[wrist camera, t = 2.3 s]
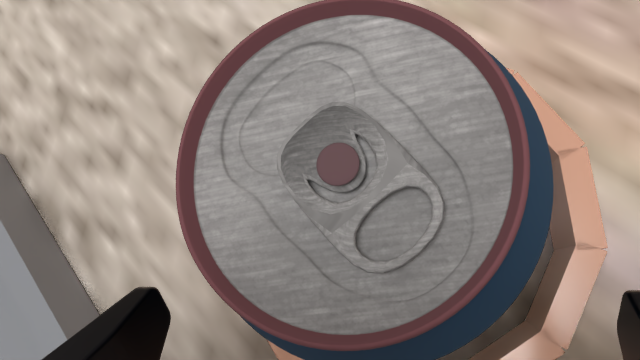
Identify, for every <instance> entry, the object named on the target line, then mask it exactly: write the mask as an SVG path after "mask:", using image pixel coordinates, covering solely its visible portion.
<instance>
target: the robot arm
mask: <svg viewBox="0 0 640 360" xmlns="http://www.w3.org/2000/svg"><path fill="white" fill-rule="evenodd" d="M170 320H171V316H170V311H169V309H168V307H167V305H166V303H165V301H164V300H163V298H162V296H161V294H160V292H159V290H158V289H157V288H155V287H138V288H135V289H134V290H133V291H131V292H130V293H129V294H127V295H126V296H125V297H123V298H122V299H121V300H119V301H118V302H117V303H115V304H114V305H113V306H111V307H110V308H109V309H107V310H106V311H105V312H103V313H102V314H101V315H100V316H98V317H97V318H96V319H94V320H93V321H92V322H90V323H89V324H88V325H86V326H85V327H84V328H82V329H81V330H80V331H78V332H77V333H76V334H74V335H73V336H72V337H71V338H69V339H68V340H67V341H65V342H64V343H63V344H61V345H60V346H59V347H57V348H56V349H55V350H53V351H52V352H51V353H49V354H48V355H47V356H45V357H44V358H43V359H41V360H160V357H161V353H162V350H163V346H164V343H165V339H166V336H167V332H168V329H169V325H170ZM617 333H618V338H619V342H620V347H621V351H622V355H623V360H640V290H629V291H626V292H625V293H624V294H623V297H622V301H621V306H620V311H619V316H618V320H617Z"/></svg>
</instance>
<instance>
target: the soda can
mask: <svg viewBox="0 0 640 360" xmlns="http://www.w3.org/2000/svg"><path fill="white" fill-rule="evenodd" d="M553 188H554V185H553V169H552V162H551V155H550V151H549V147H548V143H547V139H546V136H545V133H544V130H543V127H542V124H541V122H540V120H539V117H538V115H537V113H536V111H535V109H534V107H533V105H532V103H531V101H530V99H529V98H528V96H527V95H526V93H525V92H524V90H523V89H522V87H521V86H520V84H519V83H518V82H517V81H516V79H515V78H514V77H513V75H512V74H511V73H510V72H509V71H508V70H507V69H506V68H505V67H504V66H503V65H502V64H501V63H500V62H499V61H498V60H497V59H496V58H495V57H494V56H493V55H491V54H490V53H489V52H487V51H486V50H485V49H484V48H483V47H482V46H481V45H480V44H479V43H478V42H477V41H476V40H475V39H473V38H472V37H471V36H470V35H469V34H467V33H466V32H465V31H464V30H462V29H461V28H460V27H458V26H457V25H455V24H454V23H452V22H450V21H449V20H447V19H445V18H443V17H442V16H440V15H438V14H436V13H434V12H431V11H429V10H427V9H425V8H422V7H419V6H416V5H413V4H410V3H406V2H402V1H398V0H324V1H319V2H315V3H312V4H308V5H305V6H302V7H299V8H297V9H294V10H292V11H289V12H287V13H285V14H283V15H281V16H279V17H277V18H275V19H273V20H271V21H270V22H268V23H266V24H265V25H263V26H261V27H260V28H258V29H257V30H256V31H254V32H253V33H251V34H250V35H249V36H248V37H246V38H245V39H244V40H243V41H241V42H240V43H239V44H238V45H237V46H236V47H235V48H234V49H233V50H232V51H231V52H230V53H229V54H228V55H227V56H226V57H225V58H224V59H223V60H222V61H221V63H220V64H219V65H218V66H217V67H216V69H215V70H214V71H213V73H212V74H211V75H210V77H209V78H208V80H207V81H206V83H205V84H204V86H203V88H202V89H201V91H200V93H199V95H198V97H197V98H196V100H195V102H194V105H193V107H192V109H191V111H190V114H189V116H188V119H187V122H186V124H185V128H184V131H183V134H182V138H181V143H180V147H179V153H178V159H177V169H176V200H177V208H178V215H179V220H180V225H181V229H182V232H183V236H184V239H185V241H186V244H187V246H188V249H189V251H190V253H191V255H192V257H193V259H194V261H195V263H196V265H197V266H198V268H199V270H200V271H201V273H202V274H203V276H204V277H205V279H206V280H207V282H208V283H209V284H210V286H211V287H212V288H213V289H214V290H215V292H216V293H217V294H218V295H219V296H220V297H221V298H222V299H223V300H224V301H225V303H227V304H228V305H229V306H230V307H231V308H232V309H233V310H234V311H235V312H237V313H238V314H239V315H240V316H241V317H242V318H243V319H244V320H245V321H246V322H247V323H248V324H249V325H250V326H251V327H252V328H253V329H254V330H255V331H257V332H258V333H259V334H260V335H262V336H263V337H264V338H266V339H267V340H268V341H270V342H271V343H273V344H275V345H276V346H278V347H279V348H281V349H283V350H285V351H287V352H288V353H290V354H292V355H295V356H297V357H299V358H301V359H304V360H436V359H438V358H440V357H443V356H445V355H447V354H449V353H451V352H453V351H455V350H457V349H459V348H460V347H462V346H464V345H466V344H467V343H469V342H470V341H472V340H473V339H475V338H476V337H478V336H479V335H480V334H481V333H483V332H484V331H485V330H486V329H488V328H489V327H490V326H491V325H492V324H493V323H494V322H495V321H496V320H497V319H499V318H500V317H501V316H502V315H503V314H504V312H505V311H506V310H507V309H508V308H509V307H510V306H511V304H512V303H513V302H514V301H515V299H516V298H517V297H518V295H519V294H520V292H521V291H522V290H523V288H524V286H525V285H526V283H527V282H528V280H529V278H530V277H531V275H532V273H533V271H534V269H535V267H536V265H537V263H538V260H539V258H540V255H541V253H542V250H543V248H544V244H545V241H546V238H547V234H548V230H549V226H550V221H551V215H552V207H553Z"/></svg>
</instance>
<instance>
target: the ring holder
mask: <svg viewBox="0 0 640 360" xmlns="http://www.w3.org/2000/svg"><path fill="white" fill-rule="evenodd" d="M506 69H507V70H508V71H509V72H510V73H511V74H512V75H513V74H514V70H511V69H508V68H506ZM513 77H514V78H515V79H516V81H517V82H518V83H519V84H520V86H521V87H522V89H523V90H524V92H525V93H526V95H527V96H528V98H529V99H530V101H531V103H532V105H533V107H534V109H535V111H536V113H537V115H538V117H539V120H540V122H541V124H542V127H543V130H544V133H545V136H546V139H547V143H548V147H549V151H550V155H551V162H552V169H553V185H554V188H553V207H552V215H551V221H550V226H549V227H550V232H551V238H552V243H553V249H554V252H553V254H552V257H551V259H550V261H549V264H548V266H547V269H546V271H545V273H544V276H543V278H542V281H541V283H540V286H539V288H538V290H537V293H536V295H535V298H534V300H533V303H532V305H531V307H530V310H529V312H528V315H527V317H526V320H525V321H524V322H522V323H521V324H519V325H518V326H517V327H515V328H514V329H512V330H511V331H509V332H508V333H506V334H505V335H503V336H502V337H501V338H499V339H498V340H496V341H495V342H493V343H492V344H490V345H489V346H487V347H486V348H485V349H483V350H482V351H480V352H479V353H477V354H476V355H474V356H473V357H472V358H470V359H469V360H555V359H557V358H558V357H560V356H561V355H563V354H564V353H565V352H564V351H563V349H562V348H564V349H567V350H568V347H569V345H570V342H571V340H572V338H573V335H574V333H575V330H576V328H577V325H578V323H579V320H580V318H581V315H582V313H583V310H584V308H585V305H586V303H587V300H588V298H589V296H590V293H591V291H592V288H593V286H594V283H595V281H596V278H597V276H598V273H599V271H600V268H601V266H602V263H603V261H604V259H605V256H606V254H607V251H605V250H602V249H604V248H608V247H607V242H606V237H605V233H604V228H603V223H602V218H601V213H600V208H599V203H598V199H597V194H596V189H595V184H594V179H593V174H592V169H591V164H590V160H589V155H588V150H587V147H582V146H583V145H584V144H585V143H584V142H583V141H582V140H581V139H580V138H579V137H578V136H577V134H576V133H575V132H574V131H573V130H572V129H571V128H570V127H569V126H568V125H567V124H566V123H565V122H564V121H563V120H562V119H561V118H560V117H559V115H558V114H557V113H556V112H555V111H554V110H553V109H552V108H551V107H550V106H549V105H548V104H547V103H546V102H545V101H544V100H543V99H542V98H541V97H540V95H539V94H538V93H537V92H536V91H535V90H534V89H533V88H532V87H531V86H530V85H529V84H528V83H527V82H526V81H525V80H524V79H523V78H522V77H521V75H520V74H519V73H518V72H517V73H515V74H514V75H513ZM266 340H267V339H266ZM267 341H268V340H267ZM268 343H269V345H270V346H271V348H272V350H273V351H274V353H275V355H276V356H277V358H278V360H304V359H301V358H299V357H297V356H295V355H292V354H290V353H288V352H287V351H285V350H283V349H281V348H279V347H278V346H276V345H275V344H273V343H271V342H270V341H268ZM561 347H562V348H561Z"/></svg>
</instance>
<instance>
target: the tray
mask: <svg viewBox="0 0 640 360" xmlns="http://www.w3.org/2000/svg"><path fill="white" fill-rule="evenodd" d="M98 316H100V315H99V313H98V312H97V310H96V308H95V307H94V305H93V303H92V302H91V300H90V298H89V297H88V295H87V293H86V292H85V290H84V288H83V287H82V285H81V283H80V281H79V280H78V278H77V276H76V275H75V273H74V271H73V270H72V268H71V266H70V265H69V263H68V261H67V260H66V258H65V256H64V255H63V253H62V251H61V250H60V248H59V246H58V245H57V243H56V241H55V240H54V238H53V236H52V235H51V233H50V231H49V230H48V228H47V226H46V225H45V223H44V221H43V220H42V218H41V216H40V215H39V213H38V211H37V209H36V208H35V206H34V204H33V203H32V201H31V199H30V198H29V196H28V194H27V193H26V191H25V189H24V188H23V186H22V184H21V183H20V181H19V179H18V178H17V176H16V174H15V173H14V171H13V169H12V168H11V166H10V164H9V163H8V161H7V159H6V158H5V156H4V155H2V154H0V360H41V359H43V358H44V357H45V356H47V355H48V354H49V353H51V352H52V351H53V350H55V349H56V348H57V347H59V346H60V345H61V344H63V343H64V342H65V341H67V340H68V339H69V338H71V337H72V336H73V335H74V334H76V333H77V332H78V331H80V330H81V329H82V328H84V327H85V326H86V325H88V324H89V323H90V322H92V321H93V320H94V319H96V318H97V317H98Z"/></svg>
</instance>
